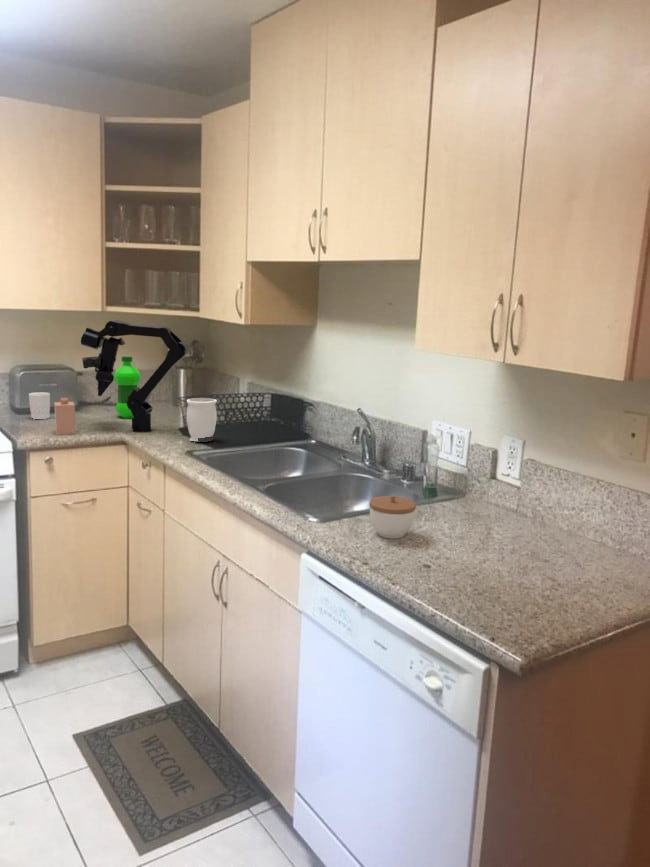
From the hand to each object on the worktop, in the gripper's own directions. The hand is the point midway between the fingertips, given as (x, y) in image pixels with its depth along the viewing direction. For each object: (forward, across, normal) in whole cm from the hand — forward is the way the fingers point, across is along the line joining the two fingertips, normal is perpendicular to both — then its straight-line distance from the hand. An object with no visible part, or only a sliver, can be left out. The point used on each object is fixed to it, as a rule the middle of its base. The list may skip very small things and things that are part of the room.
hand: (99, 392), depth 264 cm
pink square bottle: (+15, +10, -9) cm, 20 cm away
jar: (+2, +29, +36) cm, 46 cm away
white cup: (+21, -22, -18) cm, 35 cm away
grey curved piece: (+15, +10, -9) cm, 20 cm away
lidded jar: (-15, +133, +61) cm, 147 cm away
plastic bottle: (+13, -20, +15) cm, 28 cm away
